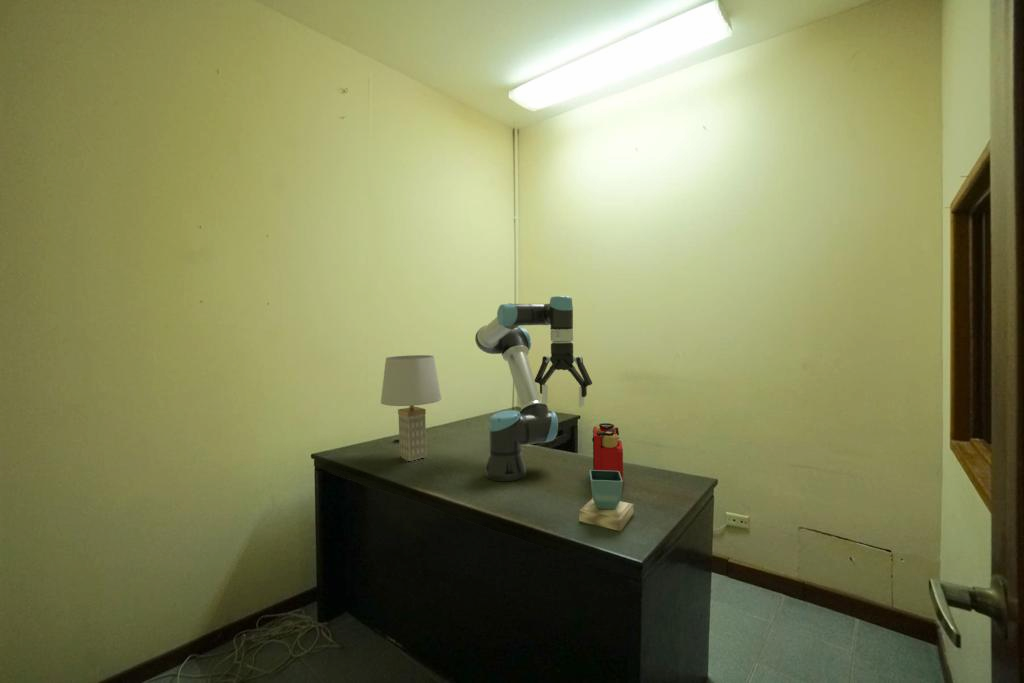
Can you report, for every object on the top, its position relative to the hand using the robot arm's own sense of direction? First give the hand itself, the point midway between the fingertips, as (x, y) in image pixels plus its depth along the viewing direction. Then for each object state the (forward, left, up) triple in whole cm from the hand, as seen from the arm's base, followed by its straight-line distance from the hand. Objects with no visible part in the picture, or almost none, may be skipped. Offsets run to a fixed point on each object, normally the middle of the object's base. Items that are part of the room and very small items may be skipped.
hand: (562, 405), depth 145 cm
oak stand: (+20, -14, -29) cm, 38 cm away
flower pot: (+20, -14, -26) cm, 35 cm away
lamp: (-71, 0, -29) cm, 77 cm away
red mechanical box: (+10, +15, -29) cm, 34 cm away
